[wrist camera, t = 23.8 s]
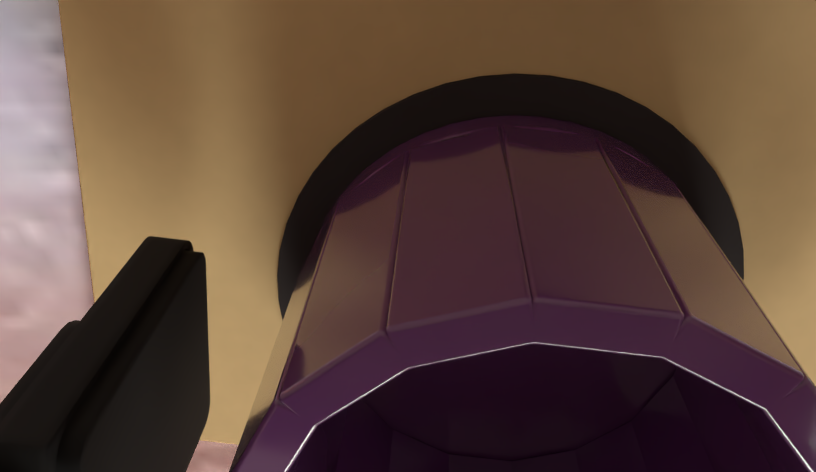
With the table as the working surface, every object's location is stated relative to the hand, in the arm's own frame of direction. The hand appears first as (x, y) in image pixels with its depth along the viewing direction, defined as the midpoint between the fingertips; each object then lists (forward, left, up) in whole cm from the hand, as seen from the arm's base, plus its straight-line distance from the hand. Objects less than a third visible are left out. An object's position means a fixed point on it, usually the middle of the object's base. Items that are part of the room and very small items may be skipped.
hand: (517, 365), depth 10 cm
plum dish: (0, 0, -2) cm, 2 cm away
